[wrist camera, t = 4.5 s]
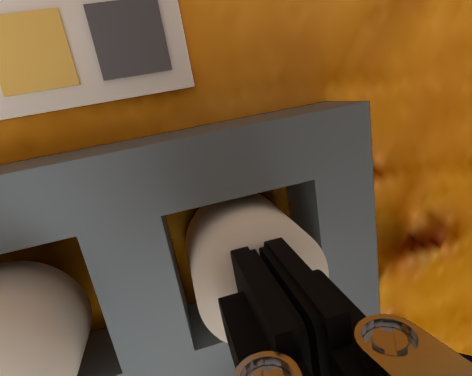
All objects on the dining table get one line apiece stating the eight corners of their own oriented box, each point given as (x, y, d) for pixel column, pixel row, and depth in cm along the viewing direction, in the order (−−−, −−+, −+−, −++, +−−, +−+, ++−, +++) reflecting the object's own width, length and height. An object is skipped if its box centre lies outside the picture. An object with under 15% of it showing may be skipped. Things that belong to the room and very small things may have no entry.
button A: (277, 179, 14) (322, 208, 10) (290, 270, 15) (334, 325, 12) (175, 204, 13) (182, 244, 10) (197, 297, 15) (211, 365, 11)
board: (327, 101, 14) (369, 101, 11) (354, 415, 19) (388, 469, 17) (-165, 196, 11) (-275, 229, 8) (24, 541, 16) (-4, 634, 13)
